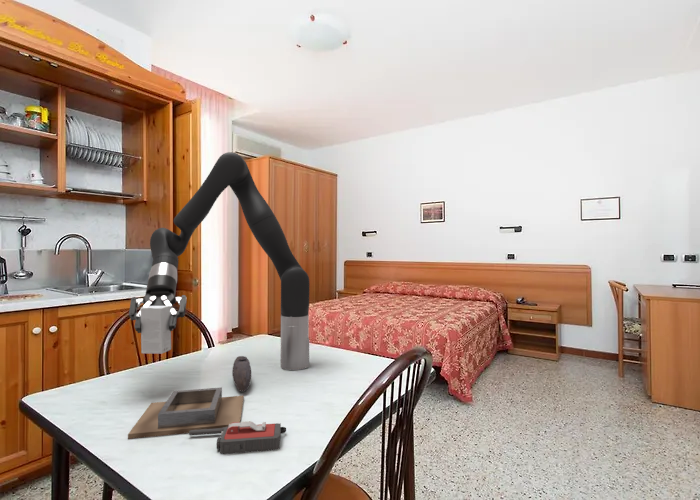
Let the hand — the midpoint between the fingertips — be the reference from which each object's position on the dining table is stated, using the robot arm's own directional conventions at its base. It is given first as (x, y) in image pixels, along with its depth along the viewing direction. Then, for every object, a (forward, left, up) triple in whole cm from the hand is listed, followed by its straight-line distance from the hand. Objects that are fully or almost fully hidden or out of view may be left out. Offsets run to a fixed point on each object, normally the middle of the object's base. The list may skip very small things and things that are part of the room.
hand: (155, 330), depth 97 cm
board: (-12, +14, -18) cm, 25 cm away
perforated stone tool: (-22, -4, -18) cm, 29 cm away
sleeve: (-12, +14, -18) cm, 25 cm away
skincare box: (0, -2, -6) cm, 6 cm away
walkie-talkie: (-23, +28, -18) cm, 40 cm away
